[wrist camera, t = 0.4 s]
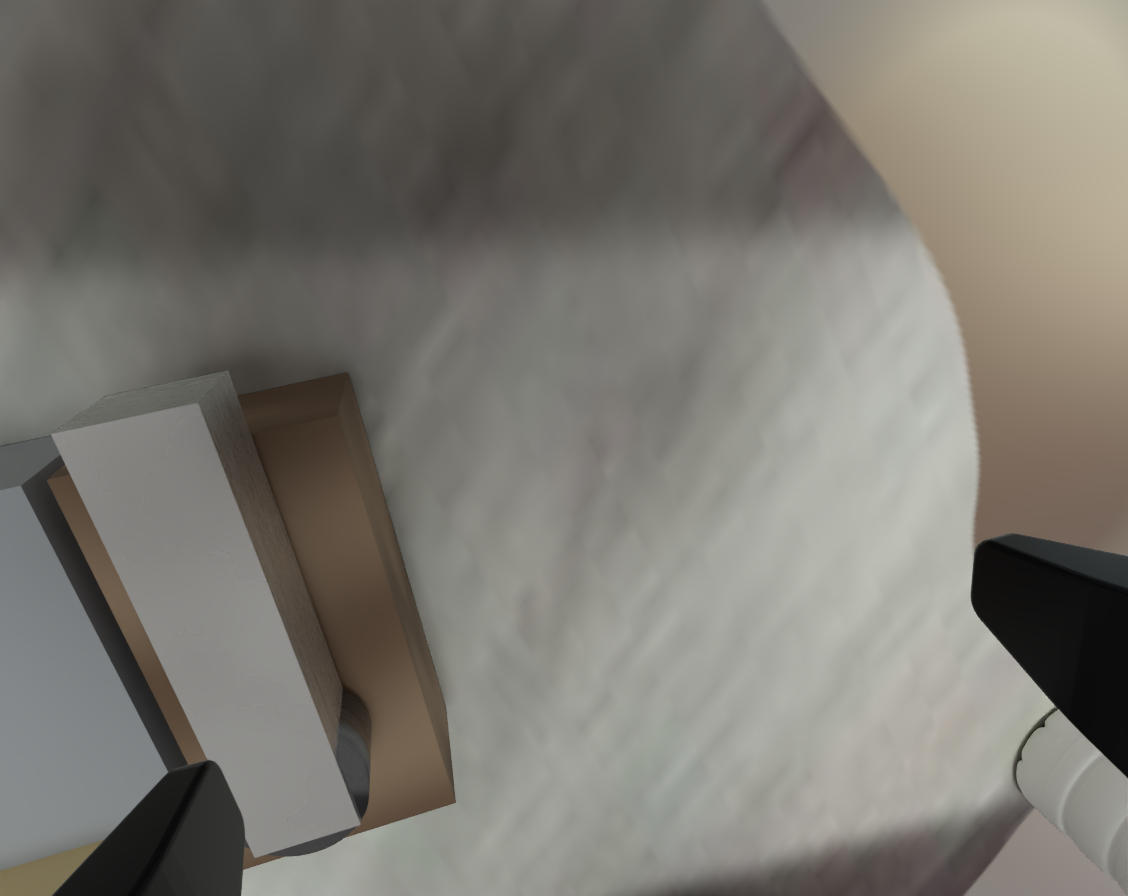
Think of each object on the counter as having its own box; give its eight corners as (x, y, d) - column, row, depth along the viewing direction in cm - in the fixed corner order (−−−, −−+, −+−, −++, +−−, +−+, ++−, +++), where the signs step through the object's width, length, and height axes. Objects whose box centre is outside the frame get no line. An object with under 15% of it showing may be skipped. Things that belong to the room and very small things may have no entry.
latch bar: (385, 760, 18) (384, 837, 16) (263, 797, 18) (245, 881, 16) (247, 366, 14) (221, 398, 12) (83, 400, 14) (25, 439, 12)
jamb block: (446, 707, 23) (456, 802, 20) (265, 760, 23) (240, 870, 19) (347, 372, 19) (337, 415, 15) (117, 421, 18) (46, 480, 14)
